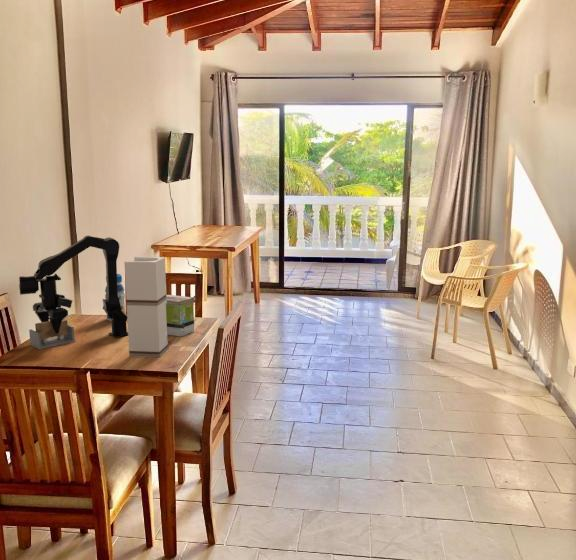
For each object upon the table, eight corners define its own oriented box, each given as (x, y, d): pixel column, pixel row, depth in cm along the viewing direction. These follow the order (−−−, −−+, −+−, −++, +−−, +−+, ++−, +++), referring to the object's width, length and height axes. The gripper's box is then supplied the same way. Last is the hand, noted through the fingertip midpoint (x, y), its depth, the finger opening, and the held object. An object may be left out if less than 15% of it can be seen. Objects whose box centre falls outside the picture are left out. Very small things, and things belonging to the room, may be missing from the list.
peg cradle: (65, 337, 254) (64, 322, 253) (75, 341, 248) (74, 326, 246) (29, 344, 244) (28, 329, 243) (39, 349, 238) (38, 334, 237)
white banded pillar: (168, 348, 238) (164, 257, 232) (159, 357, 228) (155, 262, 221) (139, 347, 240) (135, 256, 233) (129, 356, 229) (124, 261, 223)
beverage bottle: (128, 316, 286) (126, 273, 282) (121, 321, 277) (119, 277, 274) (111, 316, 287) (108, 273, 283) (103, 321, 278) (100, 276, 275)
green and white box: (195, 331, 262) (194, 296, 259) (180, 337, 253) (179, 301, 250) (166, 327, 269) (164, 293, 266) (151, 332, 260) (149, 297, 257)
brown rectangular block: (40, 339, 240) (39, 325, 239) (36, 337, 243) (35, 323, 242) (68, 333, 248) (67, 320, 247) (63, 331, 250) (62, 318, 249)
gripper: (79, 292, 241) (82, 331, 244) (58, 285, 254) (61, 322, 257) (51, 297, 233) (54, 337, 236) (30, 289, 246) (34, 328, 249)
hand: (51, 331), depth 245 cm, fingers open, 9 cm apart
